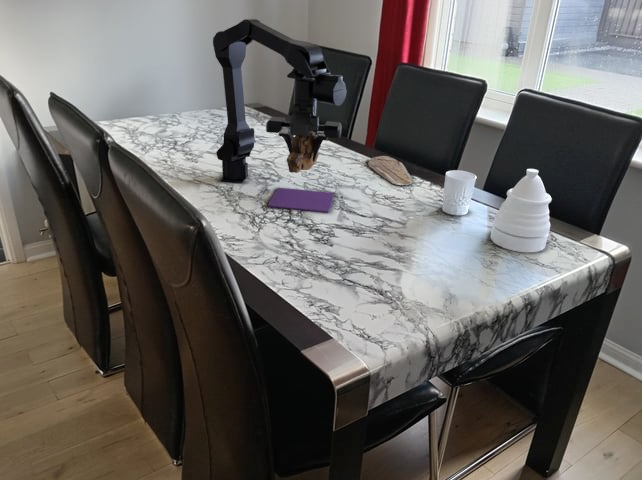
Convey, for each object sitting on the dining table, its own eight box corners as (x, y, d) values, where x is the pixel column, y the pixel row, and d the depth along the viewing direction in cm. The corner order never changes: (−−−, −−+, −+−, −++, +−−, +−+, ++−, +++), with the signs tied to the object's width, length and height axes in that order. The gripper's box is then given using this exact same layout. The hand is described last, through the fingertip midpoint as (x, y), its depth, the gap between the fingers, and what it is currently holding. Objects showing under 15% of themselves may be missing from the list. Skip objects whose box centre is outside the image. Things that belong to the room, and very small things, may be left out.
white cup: (471, 208, 157) (477, 172, 152) (467, 218, 150) (474, 181, 145) (442, 203, 159) (447, 168, 154) (437, 213, 152) (443, 177, 147)
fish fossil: (424, 184, 172) (424, 180, 172) (393, 188, 170) (393, 185, 169) (389, 157, 193) (389, 153, 192) (360, 160, 190) (361, 157, 190)
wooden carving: (301, 180, 145) (304, 141, 140) (284, 177, 146) (286, 138, 141) (321, 162, 159) (325, 126, 153) (306, 159, 160) (309, 123, 155)
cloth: (267, 206, 150) (267, 205, 150) (278, 189, 162) (278, 187, 162) (328, 212, 149) (328, 211, 149) (334, 194, 161) (334, 192, 161)
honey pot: (538, 257, 131) (557, 181, 123) (483, 242, 137) (498, 169, 128) (550, 238, 141) (570, 167, 132) (499, 225, 147) (514, 156, 138)
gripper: (261, 102, 137) (261, 166, 145) (339, 108, 135) (334, 173, 143) (271, 93, 147) (270, 153, 154) (343, 99, 145) (339, 160, 153)
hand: (303, 160), depth 151 cm, fingers closed on wooden carving, 5 cm apart
